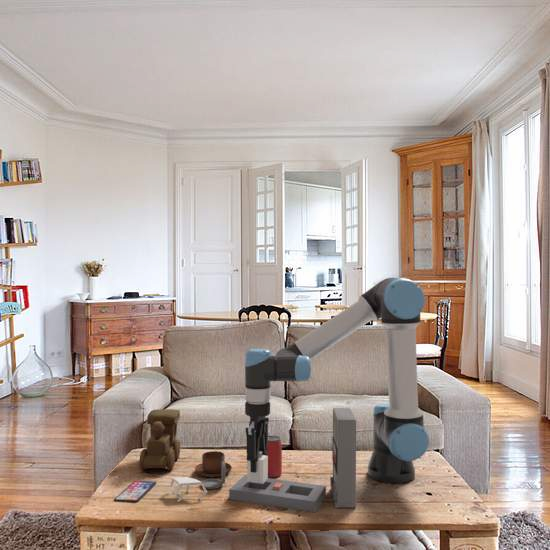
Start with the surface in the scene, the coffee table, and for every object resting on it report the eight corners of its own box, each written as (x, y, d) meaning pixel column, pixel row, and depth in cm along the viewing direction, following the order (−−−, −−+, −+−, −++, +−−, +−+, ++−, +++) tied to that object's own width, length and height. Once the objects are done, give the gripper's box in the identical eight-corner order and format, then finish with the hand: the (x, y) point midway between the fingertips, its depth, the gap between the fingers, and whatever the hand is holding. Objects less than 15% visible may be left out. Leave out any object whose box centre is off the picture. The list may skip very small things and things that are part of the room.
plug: (267, 478, 169) (267, 450, 169) (263, 483, 165) (263, 455, 165) (252, 476, 171) (252, 448, 170) (247, 481, 167) (247, 453, 167)
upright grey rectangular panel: (329, 489, 172) (330, 407, 172) (349, 489, 172) (350, 407, 172) (334, 508, 159) (334, 420, 158) (356, 508, 159) (356, 420, 158)
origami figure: (164, 502, 162) (164, 485, 162) (171, 491, 171) (171, 475, 171) (205, 504, 161) (205, 487, 161) (210, 492, 170) (210, 476, 170)
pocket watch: (196, 485, 175) (196, 453, 175) (219, 478, 180) (219, 447, 180) (211, 493, 169) (211, 460, 169) (234, 486, 174) (234, 454, 174)
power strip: (325, 495, 167) (325, 483, 167) (315, 512, 156) (315, 498, 156) (244, 484, 176) (244, 472, 176) (229, 499, 164) (229, 486, 164)
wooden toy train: (150, 454, 204) (151, 408, 204) (182, 454, 204) (182, 409, 204) (137, 474, 184) (137, 424, 184) (171, 475, 184) (172, 424, 184)
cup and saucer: (196, 467, 191) (196, 449, 191) (232, 466, 192) (232, 448, 192) (193, 480, 179) (193, 461, 179) (230, 480, 180) (230, 460, 180)
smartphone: (112, 499, 163) (134, 480, 178) (113, 502, 163) (134, 483, 178) (137, 500, 162) (156, 481, 177) (137, 504, 162) (156, 484, 177)
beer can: (282, 471, 187) (282, 435, 187) (280, 478, 181) (280, 441, 181) (262, 470, 188) (263, 434, 188) (260, 477, 182) (260, 440, 181)
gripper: (256, 394, 177) (256, 468, 177) (234, 406, 161) (234, 488, 161) (278, 396, 174) (278, 471, 175) (259, 409, 158) (259, 491, 159)
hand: (257, 479), depth 168 cm, fingers closed on plug, 4 cm apart
